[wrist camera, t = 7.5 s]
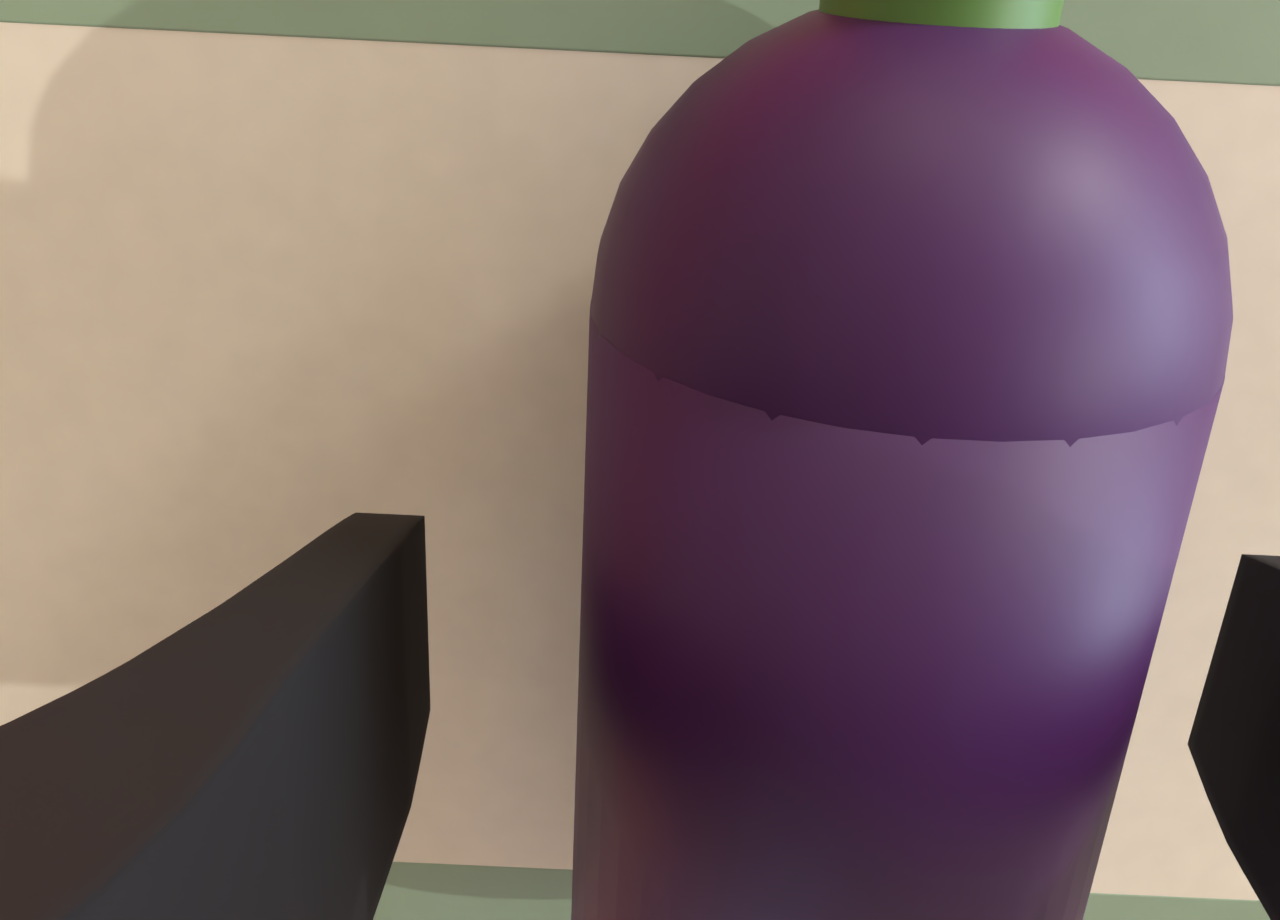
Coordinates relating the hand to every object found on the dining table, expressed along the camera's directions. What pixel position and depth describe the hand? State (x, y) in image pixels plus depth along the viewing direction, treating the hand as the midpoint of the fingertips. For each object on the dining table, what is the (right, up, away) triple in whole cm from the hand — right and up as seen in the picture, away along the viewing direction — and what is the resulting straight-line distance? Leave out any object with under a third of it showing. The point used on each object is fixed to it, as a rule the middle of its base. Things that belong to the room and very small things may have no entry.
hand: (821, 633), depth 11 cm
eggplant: (0, +1, +2) cm, 2 cm away
